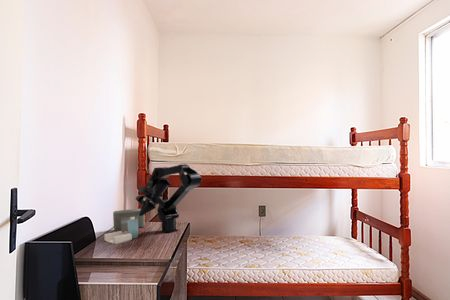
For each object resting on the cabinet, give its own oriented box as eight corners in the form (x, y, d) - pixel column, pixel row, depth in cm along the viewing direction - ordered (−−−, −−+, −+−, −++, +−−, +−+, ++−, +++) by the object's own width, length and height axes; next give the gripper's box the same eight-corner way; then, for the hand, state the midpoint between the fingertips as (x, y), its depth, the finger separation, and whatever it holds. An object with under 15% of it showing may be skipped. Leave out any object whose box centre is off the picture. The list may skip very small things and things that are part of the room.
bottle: (134, 235, 149) (133, 215, 149) (140, 236, 146) (139, 216, 146) (126, 237, 145) (125, 217, 146) (131, 238, 142) (131, 218, 143)
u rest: (120, 237, 146) (120, 230, 147) (131, 240, 140) (131, 233, 140) (104, 240, 141) (104, 234, 141) (115, 244, 134) (115, 237, 134)
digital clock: (146, 226, 169) (145, 206, 169) (144, 230, 160) (143, 209, 160) (115, 228, 167) (114, 209, 167) (111, 232, 158) (111, 211, 158)
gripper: (138, 180, 160) (119, 204, 151) (158, 180, 147) (139, 206, 138) (151, 193, 165) (134, 217, 157) (172, 194, 152) (155, 221, 144)
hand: (140, 215), depth 149 cm, fingers closed
